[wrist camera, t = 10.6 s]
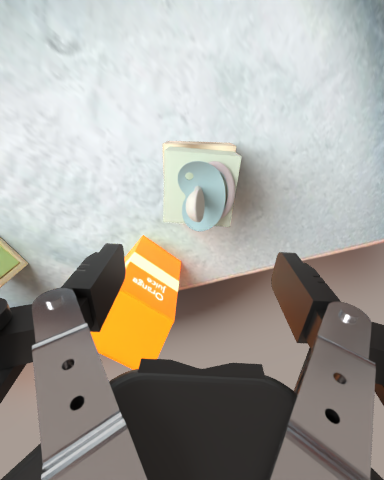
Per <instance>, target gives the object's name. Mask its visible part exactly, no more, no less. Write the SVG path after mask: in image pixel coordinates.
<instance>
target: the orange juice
mask: <svg viewBox="0 0 384 480" xmlns="http://www.w3.org/2000/svg"><path fill="white" fill-rule="evenodd" d="M124 259H125V268H126V275H125V280H124V282H123V285H122V287H121V289H120V291H119V293H118V295H117V297H116V299H115V301H114V303H113V305H112V308H111V310H110V312H109V314H108V316H107V318H106V320H105V322H104V324H103V326H102V328H101V331H100V332H91V335H92V338H93V340H94V343H95V346H96V348H97V351H98V353H100V354H102V355H104V356H106V357H109V358H111V359H113V360H115V361H117V362H119V363H121V364H123V365H125V366H127V367H129V368H131V369H133V370H134V369H139V365H140V361H141V358H145V359H157V358H158V355H159V353H160V351H161V349H162V346H163V344H164V342H165V340H166V337H167V335H168V333H169V331H170V328H171V326H172V324H173V323H174V318H175V310H176V301H177V293H178V287H179V276H180V268H181V261H179V260H178V259H177V258H175V257H174V256H172V255H171V254H169V253H168V252H167V251H165V250H164V249H162V248H161V247H159V246H158V245H157V244H155V243H154V242H152V241H151V240H149V239H148V238H147V237H145V236H144V235H143V236H142V237H141V238H140V239H139V241H138V242H137V243H136V244H135V246H134V247H133V248H132V249H131V251H130V252H129V253H128V254H127V255H126V257H125V258H124Z"/></svg>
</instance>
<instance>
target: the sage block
mask: <svg viewBox="0 0 384 480" xmlns="http://www.w3.org/2000/svg"><path fill="white" fill-rule="evenodd" d="M241 158H242V156H240V155H239V154H237V153H236V152H234V151H222V150H209V149H197V148H185V147H173V146H169V147H168V148H167V149H165V150H164V200H163V222H169V223H182V224H186V223H185V222H184V219H183V216H182V205H183V202H184V200H185V194H184V193H183V192H182V190H181V189H180V187H179V184H178V173H179V171H180V169H181V168H182V167H183V166H184V165H185V164H187V163H189V162H193V161H203V162H207V163H209V162H212V161H217V162H221V163H222V164H224V165H225V166H226V167H227V168H228V169H229V171H230V172H231V174H232V177H233V180H234V184H235V193H236V187H237V181H238V175H239V169H240V163H241ZM220 174H221V173H220ZM221 176H222V178H223V181H224V185H225V201H226V198H227V185H226V181H225V179H224V177H223V175H222V174H221ZM185 177H186V179H188V180H190V179H192V178H193V174H192V173H190V172H188V173H186V174H185ZM234 199H235V198H234ZM233 205H234V202H233ZM233 205H232V207H231V209H230V211H229V212H228V213H227V215H226V216H224V217H223V218H221V219H219V221H218V222H217V223H216V224H215V225H214V226H221V227H230V223H231V217H232V211H233Z"/></svg>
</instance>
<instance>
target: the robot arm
mask: <svg viewBox="0 0 384 480" xmlns="http://www.w3.org/2000/svg"><path fill="white" fill-rule="evenodd" d="M125 275H126V268H125V259H124V251H123V246H122V244H108V243H107V244H105V245H104V247H103V248H102V249H101V251H100V252H99V253H97V252H95V253H93V254H92V255H90V256H88V257H87V258H86V259H85V260H84V261H83V262H82V263H81V265H80V266H79V267H78V268H77V270H76V271H75V272H74V273H73V274H72V275H71V276H70V278H69V279H68V280H67V281H66V282H65V283H64V285H63V286H62V287H61V288H57V289H53V290H50V291H47V292H45V293H43V294H41V295H40V296H39V297H37V298H36V299H35V300H34V302H33V304H30V305H24V306H18V307H12V308H9V306H8V303H7V301H6V300H5V299H2V298H0V403H1V402H2V400H3V399H4V397H5V396H6V394H7V393H8V391H9V389H10V388H11V387H12V385H13V383H14V382H15V381H16V379H17V377H18V376H19V374H20V373H21V371H22V370H23V368H24V367H25V365H26V364H27V363H31V362H33V366H34V376H35V387H36V397H37V408H38V418H39V429H40V440H41V443H40V444H39V445H38V446H37V447H36V448H35V449H34V450H33V451H32V452H31V453H29V454H28V455H27V456H26V457H25V458H24V459H23V460H22V461H21V462H20V463H18V464H17V465H16V466H15V467H14V468H13V469H12V470H11V471H10V472H9V473H8V474H6V475H5V476H4V477H3V478H2V479H1V480H383V479H382V478H381V477H380V476H379V475H378V474H377V473H376V472H375V471H374V470H373V469H372V468H371V451H372V432H373V413H374V412H373V411H374V393H375V392H376V394H377V396H378V397H379V399H380V401H381V402H382V404H383V405H384V325H381V324H378V323H374V322H371V320H370V319H369V317H368V316H367V315H366V314H365V313H364V312H363V311H362V310H360V309H359V308H357V307H355V306H353V305H350V304H348V303H344V302H341V301H340V300H339V299H338V297H337V296H336V295H335V294H334V292H333V291H332V290H331V289H330V288H329V286H328V285H327V284H326V283H325V281H324V280H323V279H322V278H320V275H319V274H318V273H317V272H316V270H315V269H314V268H312V267H310V266H309V265H308V264H306V263H303V262H302V261H301V259H300V258H299V257H298V256H297V254H296V253H285V252H280V253H278V255H277V258H276V262H275V266H274V271H273V274H272V279H271V284H272V289H273V291H274V293H275V296H276V298H277V300H278V302H279V304H280V307H281V309H282V311H283V313H284V315H285V318H286V320H287V322H288V324H289V326H290V328H291V331H292V333H293V335H294V337H295V339H296V341H297V343H308V344H309V346H310V348H309V351H308V353H307V356H306V359H305V361H304V364H303V367H302V370H301V372H300V375H299V378H298V381H297V383H296V386H295V388H294V391H293V390H291V389H290V388H289V387H287V386H286V385H284V384H282V383H281V382H279V381H277V380H276V379H273V378H271V377H269V376H266V375H264V372H263V367H262V365H261V364H244V363H229V364H225V365H220V366H215V367H210V368H206V369H199V368H195V367H192V366H189V365H186V364H182V363H179V362H176V361H173V360H164V359H145V358H141V361H140V365H139V369H134V370H131V371H128V372H125V373H123V374H121V375H119V376H117V377H116V378H114V379H112V380H111V381H110V382H109V380H108V378H107V375H106V373H105V370H104V367H103V365H102V362H101V359H100V356H99V354H98V351H97V348H96V346H95V343H94V340H93V338H92V335H91V332H100V331H101V328H102V326H103V324H104V322H105V320H106V318H107V316H108V314H109V312H110V310H111V308H112V305H113V303H114V301H115V299H116V297H117V295H118V293H119V291H120V289H121V287H122V285H123V282H124V280H125Z"/></svg>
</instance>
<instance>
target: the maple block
mask: <svg viewBox="0 0 384 480" xmlns="http://www.w3.org/2000/svg"><path fill="white" fill-rule="evenodd" d="M169 146H173V147H185V148H197V149H209V150H222V151H234V152H236V146H235V145H233V144H231V143H220V142H186V141H167V142H165V143H163V171H164V150H165V149H167V148H168V147H169Z"/></svg>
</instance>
